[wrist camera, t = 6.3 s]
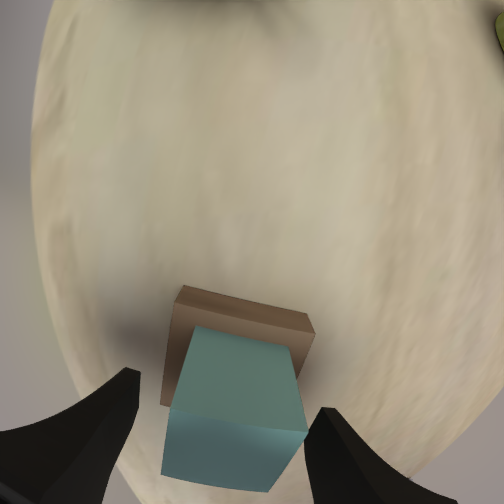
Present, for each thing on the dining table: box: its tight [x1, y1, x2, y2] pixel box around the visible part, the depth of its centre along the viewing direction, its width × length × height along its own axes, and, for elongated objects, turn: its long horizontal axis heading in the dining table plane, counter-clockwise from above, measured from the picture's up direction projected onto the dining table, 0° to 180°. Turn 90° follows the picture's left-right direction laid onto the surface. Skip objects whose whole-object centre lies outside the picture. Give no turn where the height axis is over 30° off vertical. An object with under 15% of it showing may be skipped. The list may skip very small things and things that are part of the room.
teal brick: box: [161, 326, 309, 492], centre depth 10 cm, size 4×4×5 cm
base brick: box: [160, 285, 315, 407], centre depth 13 cm, size 6×6×2 cm
